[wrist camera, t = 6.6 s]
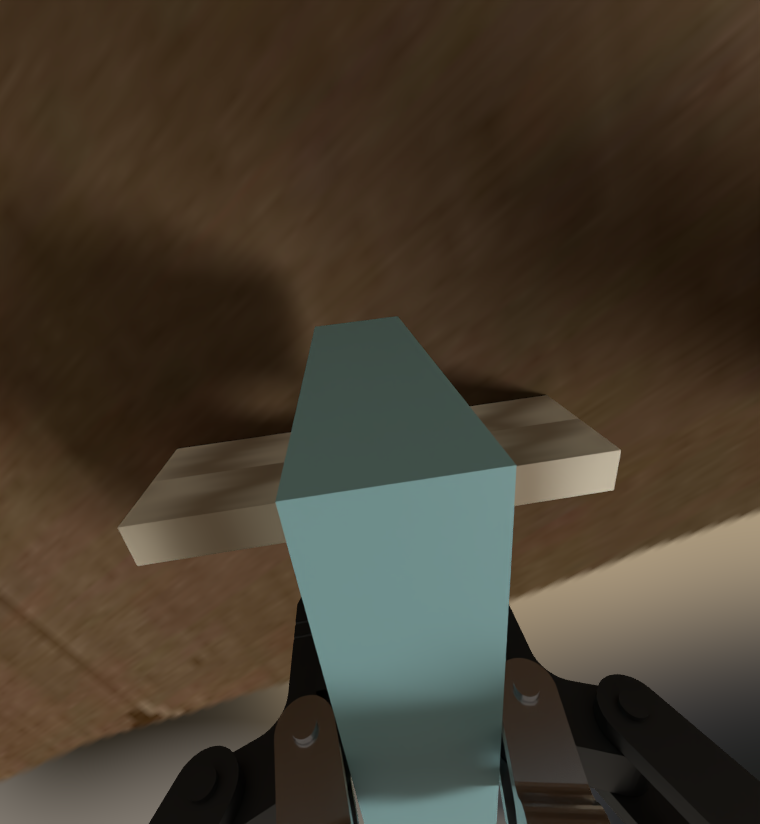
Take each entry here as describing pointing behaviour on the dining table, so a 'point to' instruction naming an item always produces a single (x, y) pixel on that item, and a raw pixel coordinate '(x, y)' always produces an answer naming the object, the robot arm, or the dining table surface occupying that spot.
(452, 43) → the dining table surface
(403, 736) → the teal cross plate
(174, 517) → the maple base plate
